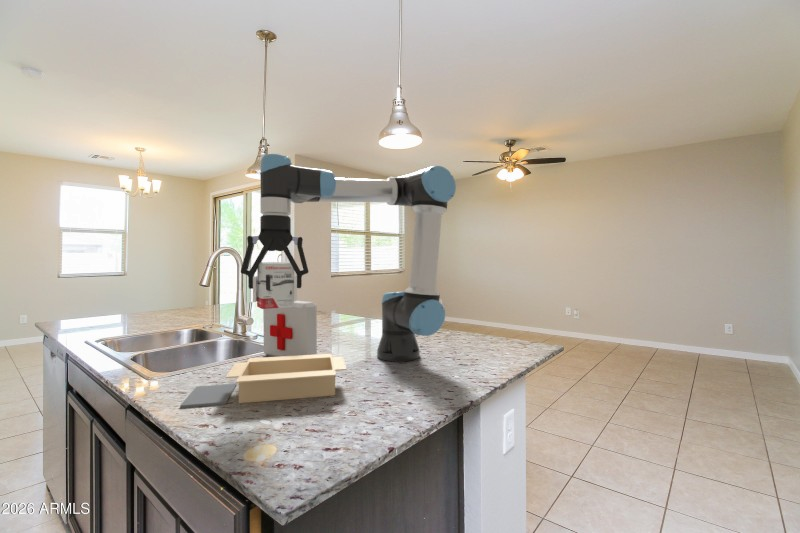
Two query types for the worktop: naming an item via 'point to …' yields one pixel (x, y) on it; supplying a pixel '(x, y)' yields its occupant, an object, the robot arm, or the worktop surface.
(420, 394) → the worktop surface
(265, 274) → the ink box
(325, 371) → the carton
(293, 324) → the bevelled white case
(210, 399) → the mat
